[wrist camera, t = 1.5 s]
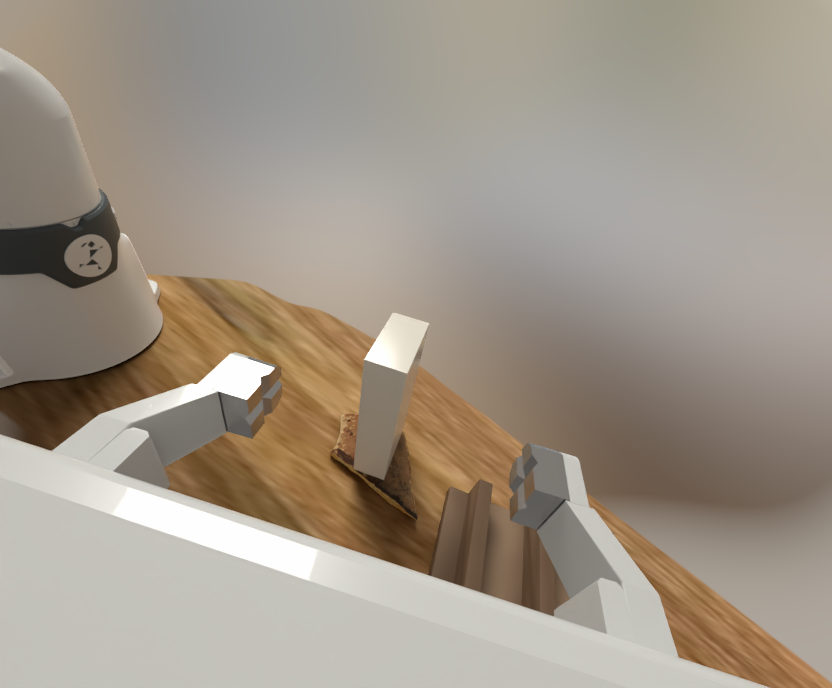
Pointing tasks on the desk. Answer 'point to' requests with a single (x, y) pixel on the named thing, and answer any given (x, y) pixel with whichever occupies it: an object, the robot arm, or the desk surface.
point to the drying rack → (494, 552)
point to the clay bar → (387, 392)
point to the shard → (398, 474)
